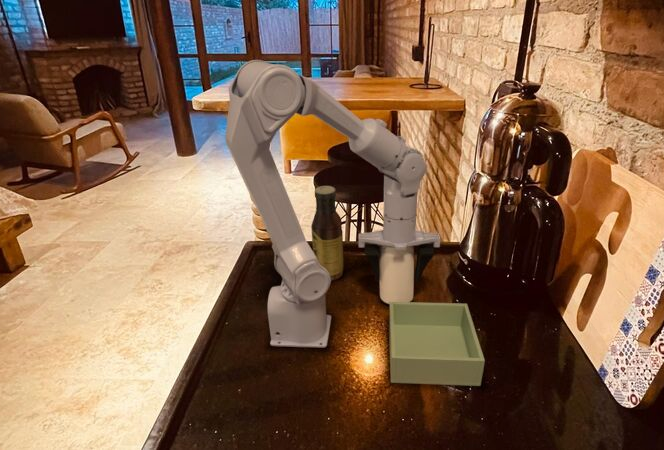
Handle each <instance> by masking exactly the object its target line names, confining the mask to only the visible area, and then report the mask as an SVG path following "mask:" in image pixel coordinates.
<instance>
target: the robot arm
mask: <svg viewBox="0 0 664 450" xmlns="http://www.w3.org/2000/svg"><path fill="white" fill-rule="evenodd" d="M228 95H229V104H228V111H227V117H226V119H227V120H226V125H225V126H226V127H225V136H224V137H225V138H224V139H225V143H226V146H227V148H228V150H229V153H230V154H231V156H232V159H233V160H234V163H235V165H236V168H237V170H238V172H239V174H240V176H241V178H242V181H243V182H244V185H245V187H246V189H247V191H248V193H249V195H250V198H251V201H252V202H253V205H254V206H255V209H256V211H257V213H258V215H259V217H260V219H261V222H262V224H263V226H264V228H265V231H266V232H267V234H268V237H269V239H270V241H271V243H272V245H271V248H272V250H273V253H274V260H273V265H274V269H275V270H276V272H277V273H278V274H279V275H280V276H281V278H282V280H281V284H280V285H275V286H272V287H271V288H270V289H269V292H268V298H267V319H268V325H269V334H270V342H269V344H270V347H286V348H287V347H288V348H316V349H317V348H319V349H324V348H326V347H327V346H328V342H329V335H330V328H331V323H332V315H330V314H327V305H326V304H327V301H326V300H327V299H326V294H327V292H328V291H329V289H330V286H331V283H332V281H331V277H330V274H329V272H328V271H327V270H326V269H325V268H324V267H323V266H321V265H320V263H319V262H318V260H317V257H316V256H315V254H314V252H313V248H311V246H310V244H309V243H308V241H307V239H306V236H305V234H304V232H303V229H302V227H301V224H300V221H299V219H298V216H297V214H296V212H295V209H294V207H293V205H292V201H291V199H290V197H289V194H288V192H287V189H286V186H285V185H284V182H283V180H282V177H281V175H280V172H279V170H278V168H277V167H278V166H277V164H276V162H275V160H274V157H273V154H272V152H271V149H270V144H271V143H272V141H273V139H274V137H275V135H276V134H277V132H279V130H281V128H282V127H283V126H284V125H286V124H287V123H288V121H289V120H290V119H292V118H293V117H294V116H295V115H299V116H302V117H306V116H311V115H312V116H313V117H315V118H317V119H318V120H320V121H321V122H323V123H324V124H326V125H328V126H329V127H331V128H332V129H334V130H335V131H337V132H338V133H339V134H341V135H343V136H344V137H347V139H348V145H349V149H350V150H351V151H352V152H353V153H354V154H356V155H357V156H359V157H361V158H362V159H363V160H365V161H366V162H368V163H369V164H371V165H372V166H374V167H375V168H377V169H378V171H379V173H382V174H384V175H383V218H382V219H383V220H382V229H381V230H376V231H370V232H362V233H361V232H360V233H358V248H363V249H364V255H365V257H366V259H367V261H368V263H369V264H370V266H371V269H372V272H373V275H374V282H380V278H379V247H380V246H384V245H385V246H390V247H394V248H395V249H396V250H405V249H407V247H409V246H413V247H414V246H415V247H416V264H415V269H414V277H415V280H416V281H415V282H421V280H422V276H423V273H424V271H425V269H426V268H427V266H428V264H429V262H430V261H431V260H432V259H433V257H434V255H435V249H434V248H441V239H442V238H441V235H440V233H439V232H428V231H423V230H422V231H421V230H416V228H417V214H418V213H417V212H418V211H417V209H418V193H419V190H420V189H421V182H422V180H423V178H424V176H425V175H426V173H427V170H428V164H427V163H426V162H425V158H424V155H423V154H422V152H421V151H420V150H418V149H416V148H413V147H411V146H408V145H407V144H406V142H407V140H406V138H404V137H402V136H401V135H395V134H394V133H392V132H391V131H390V130H389V129H387V126H388V123H387V122H386V121H384V120H383V119H380V118H376V119H374V118H372V117H371V118H370V117H368V118H364V119H361V118H359V117H358V116H356V115H355V114H354V113H353V112H352V111H351V110H349V109H348V108H347V107H346V106H345V105H343V104H342V103H341V102H340V101H338V99H336V98H335V97H333V96H332V95H331V94H330V93H328V92H327V91H326V90H325V89H324V88H322V87H321V86H320V85H318V84H317V83H316V82H315V81H313V80H312V79H310V78H307V76H304V75H301V74H298V73H297V72H296V71H295V70H294V69H293V68H291V67H289V66H287V65H284V64H277V63H275V64H273V63H270V62H267V61H265V60H260V59H252V60H249V61H247V62H245V63H244V64H243V65H241V66H240V67H239V69H238V70H237V72H236V74H235V76H234V77H233V79H232V80H231V83H230V84H229V86H228Z"/></svg>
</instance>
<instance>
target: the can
mask: <svg viewBox="0 0 664 450" xmlns="http://www.w3.org/2000/svg"><path fill="white" fill-rule="evenodd" d="M378 253H379V260H378V268H379V299H381V301H382V302H383V303H384V304H386V305H390V302H412V301H413V299H414V284H415V282H414V281H415V280H414V279H415V248H414V246H409V247H407V249H405V250H396V249H395V248H394V247H390V246H385V245H384V246H379V247H378Z"/></svg>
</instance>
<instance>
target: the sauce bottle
mask: <svg viewBox="0 0 664 450" xmlns="http://www.w3.org/2000/svg"><path fill="white" fill-rule="evenodd" d="M336 191H337V190H336V188H335V187H334V186H331V185H320V186H318V187H316V188H315V189H314V197H315V205H316V207H315V213H314V216H313V219H312V222H311V225H310V227H311V241H312V242H311V243H312V251H313V252H314V254H315V256H316V257H317V260H318V262H319V263H320V265H321V266H323V267H324V268H325V269H326V270H327V271H328V272H329V274H330V277H331V282H333V281H337V280H339V279H340V278H341V277H342V276H343V274H344V238H343V236H344V235H343V233H344V232H343V222H342V218H341V215H339V213H338V212H337V210H336V209H337V206H336V196H337V193H336Z"/></svg>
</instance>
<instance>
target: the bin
mask: <svg viewBox="0 0 664 450" xmlns="http://www.w3.org/2000/svg"><path fill="white" fill-rule="evenodd" d="M388 307H389V310H388V312H389V313H388V338H389V339H388V340H389V343H388V344H389V364H390V365H389V369H390V370H389V371H390V372H389V373H390V375H389V376H390V383H391V384H415V385H419V384H420V385H443V386H444V385H445V386H446V385H447V386H469V387H470V386H471V387H472V386H473V387H481V385H482V379H483V373H484V367H485V364H486V363H485V362H486V359H485V357H484V353H483V351H482V347H481V344H480V340H479V338H478V334H477V332H476V329H475V324H474V322H473V318H472V315H471V312H470V309H469V305H468V303H458V302H457V303H456V302H455V303H453V302H417V301H414V302H413V301H410V302H390V305H389V306H388Z"/></svg>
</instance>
